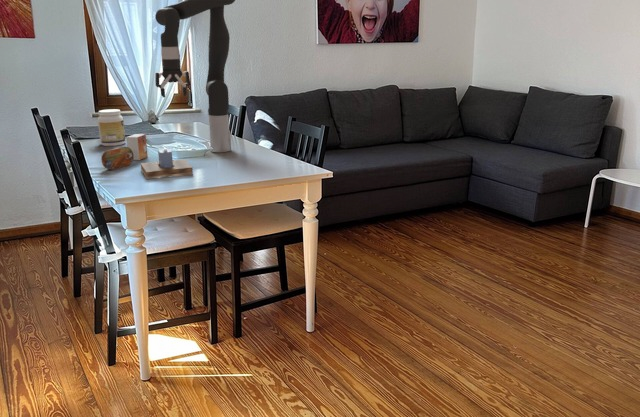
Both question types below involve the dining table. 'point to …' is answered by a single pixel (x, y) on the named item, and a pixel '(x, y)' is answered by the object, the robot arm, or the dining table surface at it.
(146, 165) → the pocket board
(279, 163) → the dining table surface
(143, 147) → the small box
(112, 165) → the tin
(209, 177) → the dining table surface
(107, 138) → the supplement tub
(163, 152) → the block
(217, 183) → the dining table surface
